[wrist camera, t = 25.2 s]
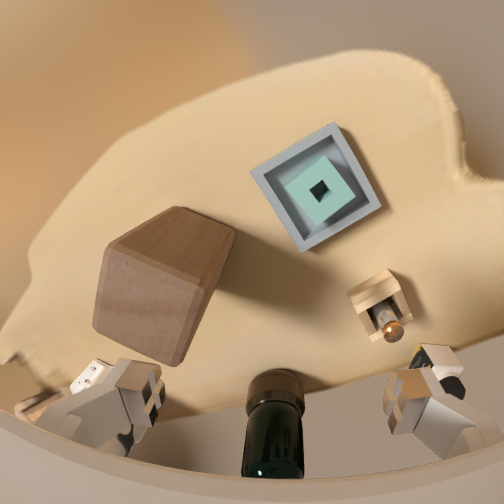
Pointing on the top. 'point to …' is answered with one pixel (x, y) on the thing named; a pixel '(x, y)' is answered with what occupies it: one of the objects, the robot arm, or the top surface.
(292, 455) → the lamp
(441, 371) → the medicine bottle
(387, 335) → the cylinder
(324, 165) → the narrow bore block
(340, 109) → the top surface
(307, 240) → the tray
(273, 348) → the top surface
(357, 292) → the wide bore block
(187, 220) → the block
